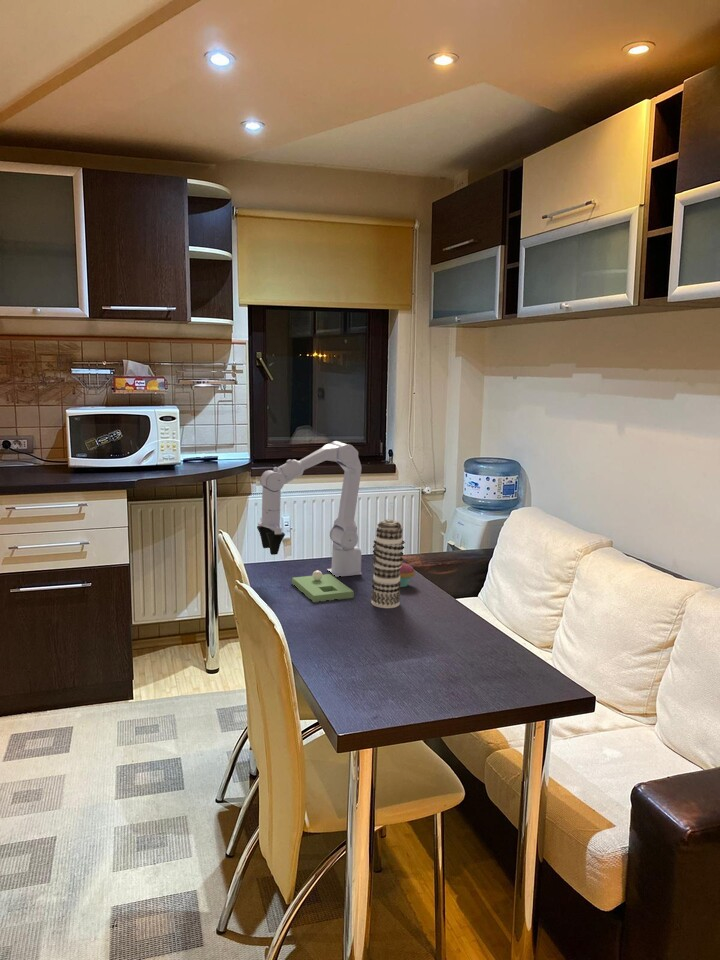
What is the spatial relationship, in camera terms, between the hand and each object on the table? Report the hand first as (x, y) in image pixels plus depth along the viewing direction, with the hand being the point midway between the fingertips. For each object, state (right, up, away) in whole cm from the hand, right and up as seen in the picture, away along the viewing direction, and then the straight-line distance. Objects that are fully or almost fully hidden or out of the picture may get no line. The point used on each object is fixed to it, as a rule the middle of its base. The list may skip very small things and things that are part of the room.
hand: (270, 551), depth 227 cm
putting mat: (+17, -12, -5) cm, 21 cm away
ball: (+15, -9, -2) cm, 18 cm away
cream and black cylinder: (+36, -14, -14) cm, 41 cm away
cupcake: (+41, -12, +5) cm, 43 cm away
